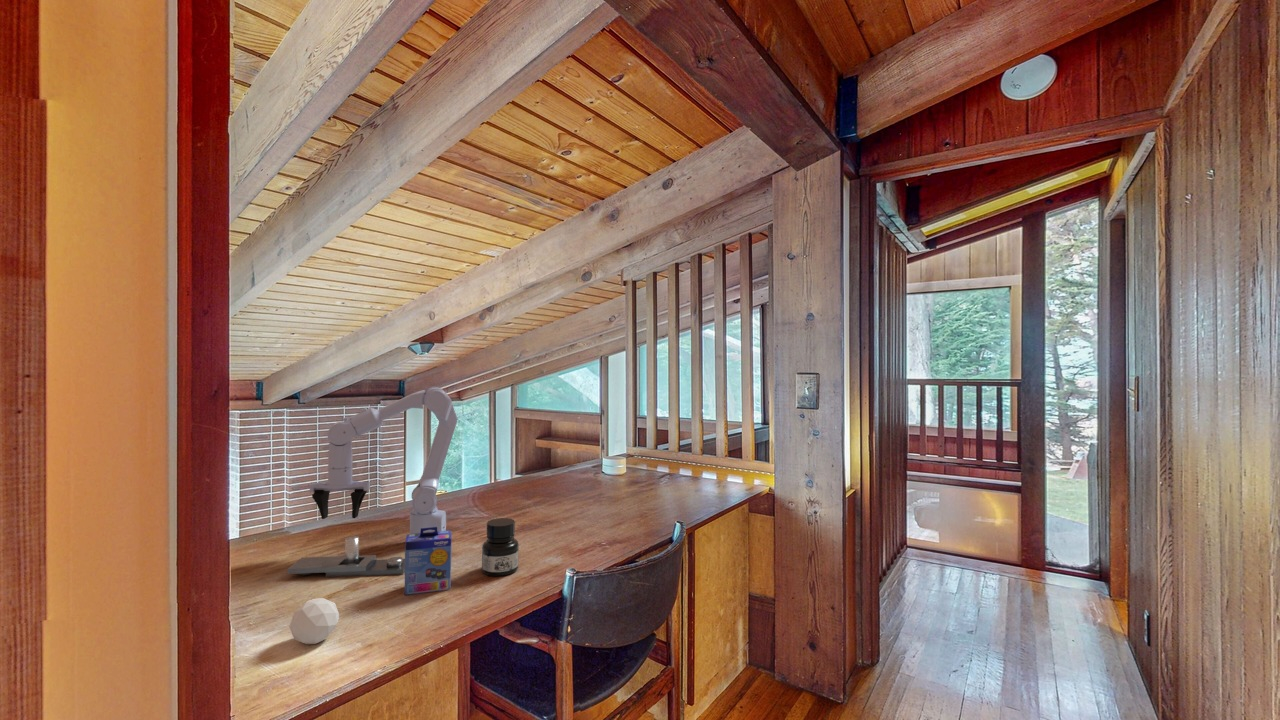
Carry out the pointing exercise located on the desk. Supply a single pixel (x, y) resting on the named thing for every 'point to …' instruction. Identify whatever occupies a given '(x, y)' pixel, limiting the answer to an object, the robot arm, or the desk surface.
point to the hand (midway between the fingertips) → (339, 517)
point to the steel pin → (352, 550)
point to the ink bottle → (500, 548)
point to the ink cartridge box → (427, 561)
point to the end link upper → (329, 565)
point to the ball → (314, 621)
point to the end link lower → (376, 568)
